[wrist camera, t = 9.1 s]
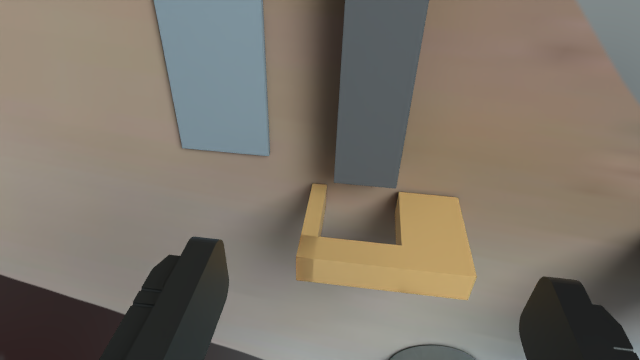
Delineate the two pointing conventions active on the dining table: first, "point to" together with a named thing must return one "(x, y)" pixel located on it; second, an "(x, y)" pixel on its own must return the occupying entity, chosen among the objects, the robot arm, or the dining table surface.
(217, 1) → the light blue panel
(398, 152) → the dark gray rectangular block
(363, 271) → the yellow bent bar
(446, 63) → the dining table surface
